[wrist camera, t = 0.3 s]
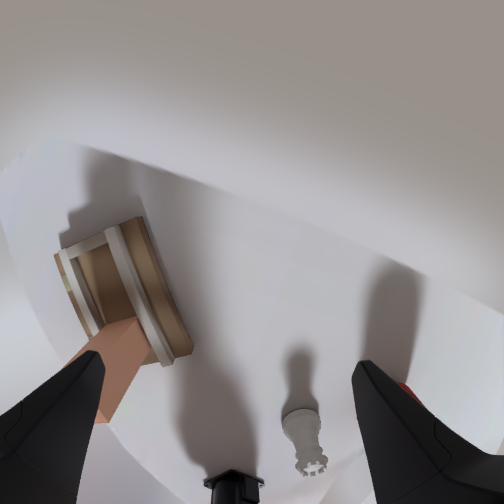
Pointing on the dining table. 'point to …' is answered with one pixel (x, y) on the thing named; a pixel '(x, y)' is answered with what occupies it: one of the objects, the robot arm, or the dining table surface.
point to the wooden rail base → (124, 288)
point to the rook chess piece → (305, 440)
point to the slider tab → (117, 361)
